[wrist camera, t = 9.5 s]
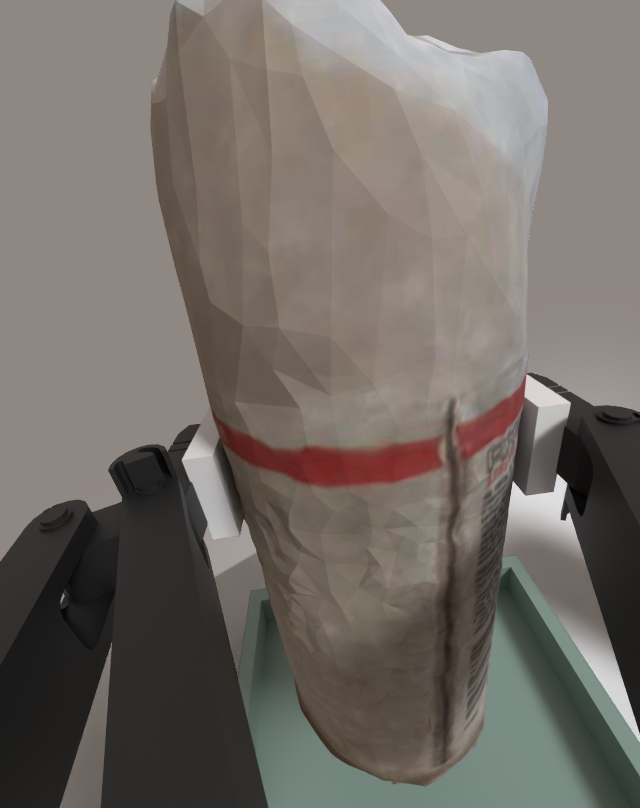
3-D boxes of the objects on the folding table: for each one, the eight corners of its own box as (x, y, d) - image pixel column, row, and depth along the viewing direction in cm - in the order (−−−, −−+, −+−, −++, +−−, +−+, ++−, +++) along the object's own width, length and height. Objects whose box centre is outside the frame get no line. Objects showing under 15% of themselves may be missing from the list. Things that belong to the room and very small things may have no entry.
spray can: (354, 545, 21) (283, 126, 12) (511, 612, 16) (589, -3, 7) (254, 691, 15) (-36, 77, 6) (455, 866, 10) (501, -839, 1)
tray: (217, 1002, 13) (192, 991, 11) (260, 617, 25) (250, 590, 24) (726, 948, 12) (762, 930, 11) (511, 584, 25) (516, 555, 23)
